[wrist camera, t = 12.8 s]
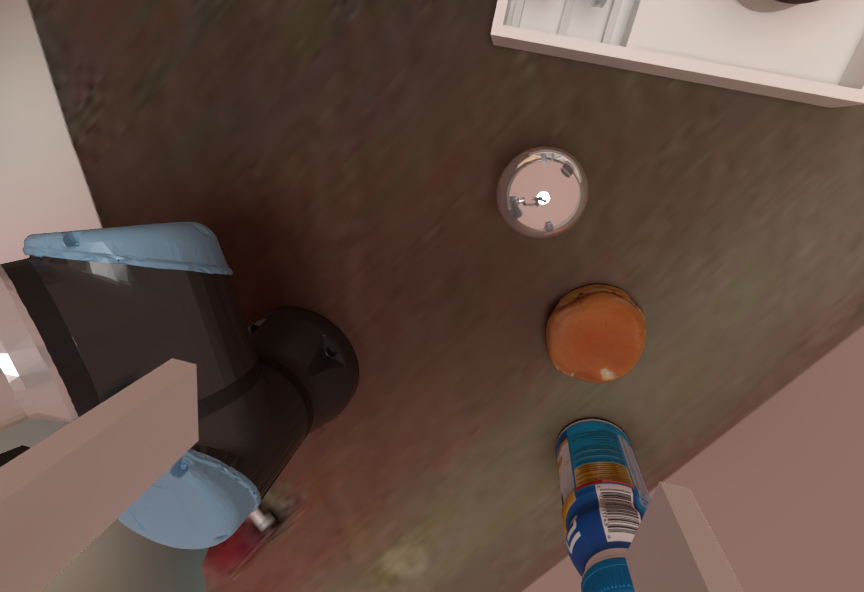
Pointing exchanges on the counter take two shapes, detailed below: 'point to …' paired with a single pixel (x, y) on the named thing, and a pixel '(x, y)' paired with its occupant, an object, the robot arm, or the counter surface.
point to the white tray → (703, 42)
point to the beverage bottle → (600, 502)
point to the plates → (598, 3)
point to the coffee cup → (772, 4)
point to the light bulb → (542, 192)
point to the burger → (595, 334)
